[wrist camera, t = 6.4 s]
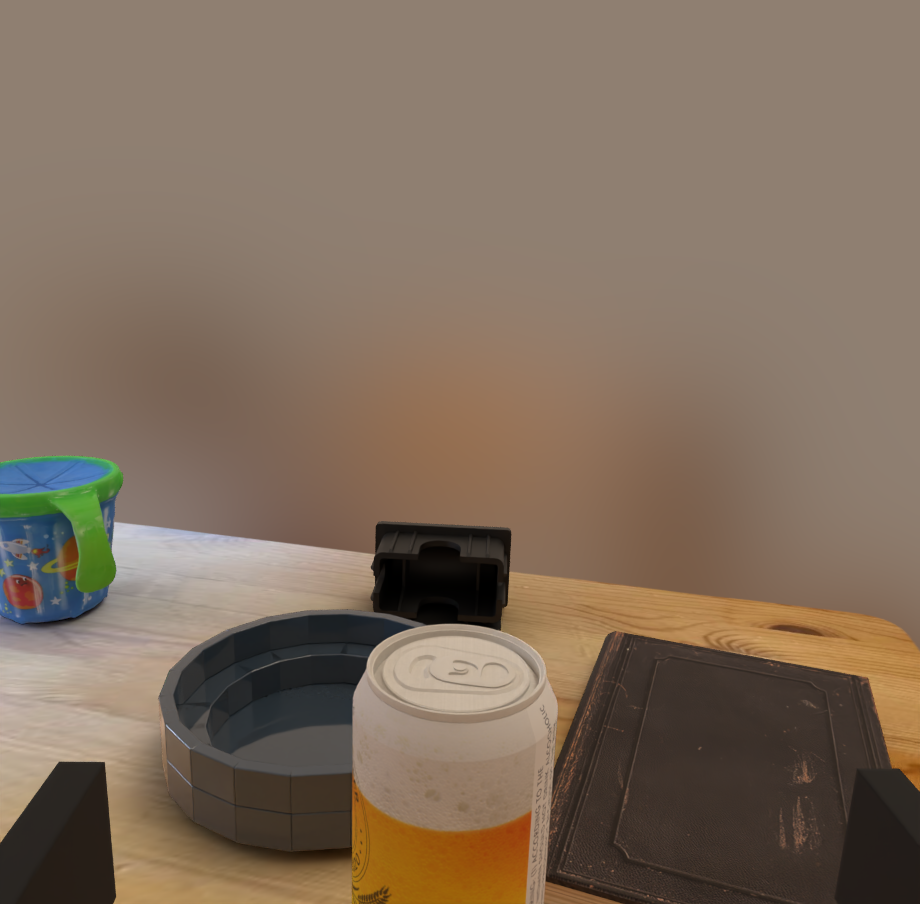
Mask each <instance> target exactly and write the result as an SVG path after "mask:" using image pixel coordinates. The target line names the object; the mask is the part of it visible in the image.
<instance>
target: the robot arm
mask: <svg viewBox="0 0 920 904" xmlns="http://www.w3.org/2000/svg"><path fill="white" fill-rule="evenodd" d="M115 898H116V890H115V878H114V866H113V854H112V843H111V831H110V819H109V807H108V795H107V783H106V772H105V762H59V763H58V764H57V765H56V767H55V768H54V769H53V771H52V772H51V774H50V775H49V776H48V778H47V779H46V781H45V782H44V783H43V785H42V786H41V788H40V789H39V790H38V792H37V793H36V794H35V796H34V797H33V799H32V800H31V801H30V803H29V804H28V806H27V807H26V808H25V810H24V811H23V812H22V814H21V815H20V817H19V818H18V819H17V821H16V822H15V824H14V825H13V826H12V828H11V829H10V830H9V832H8V833H7V835H6V836H5V837H4V839H3V840H2V842H1V843H0V904H113V902H114V900H115ZM834 898H835V900H836V902H837V903H838V904H920V792H919V790H918V789H917V788H916V787H915V786H914V785H913V784H912V783H911V781H910V780H909V779H908V778H907V777H906V776H905V775H904V774H903V773H902V771H901V770H900V769H877V768H857V771H856V776H855V782H854V788H853V794H852V799H851V805H850V811H849V817H848V822H847V828H846V834H845V839H844V845H843V851H842V857H841V862H840V868H839V874H838V880H837V885H836V891H835V897H834Z"/></svg>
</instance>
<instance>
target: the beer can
mask: <svg viewBox="0 0 920 904" xmlns="http://www.w3.org/2000/svg"><path fill="white" fill-rule="evenodd" d="M546 675H547V670H546V666H545V663H544V661H543V659H542V657H541V656H540V654H539V653H538V652H537V651H536V650H535V649H534V648H532V647H531V646H530V645H529V644H527V643H526V642H524V641H522V640H520V639H519V638H517V637H514V636H512V635H510V634H507V633H504V632H502V631H498V630H495V629H490V628H486V627H481V626H474V625H464V624H438V625H429V626H422V627H417V628H413V629H409V630H406V631H403V632H400V633H398V634H395V635H393V636H391V637H389V638H387V639H386V640H384V641H383V642H381V643H380V644H379V645H378V646H377V647H376V648H375V649H374V650H373V651H372V652H371V654H370V656H369V658H368V661H367V668H366V670H365V672H364V674H363V676H362V678H361V680H360V682H359V683H358V685H357V687H356V690H355V692H354V695H353V755H352V904H544V893H545V879H546V865H547V852H548V838H549V825H550V811H551V797H552V784H553V770H554V756H555V743H556V729H557V715H558V704H557V699H556V697H555V694H554V692H553V690H552V687H551V685H550V683H549V681H548V678H547V676H546Z"/></svg>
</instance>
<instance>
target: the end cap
mask: <svg viewBox="0 0 920 904" xmlns="http://www.w3.org/2000/svg"><path fill="white" fill-rule="evenodd" d="M375 548H376V549H375V550H376V551H375V552H376V553H375V557H374V561H373V563H372V565H371V569H372V570H373V571H374V576H375V587H374V590H373V592H372V595H371V600H372V601H373V610H374V612H376V613H385V614H391V615H394V616H398V617H401V618H405V619H409V620H412V621H416V622H419V623H423V624H425V625H427V626H429V625H438V624H464V625H474V626H481V627H486V628H490V629H495V630H498V631H501V615H502V608H504V607H506V606H507V603H508V585H509V567H510V548H511V530H510V529H509V528H502V527H483V526H463V525H444V524H443V525H442V524H424V523H405V522H386V521H381V522H378V524H377V525H376V547H375Z"/></svg>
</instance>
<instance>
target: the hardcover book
mask: <svg viewBox="0 0 920 904" xmlns="http://www.w3.org/2000/svg"><path fill="white" fill-rule="evenodd" d="M857 768H877V769H892V767H891V763H890V760H889V756H888V752H887V748H886V744H885V740H884V737H883V733H882V729H881V725H880V721H879V718H878V714H877V710H876V706H875V702H874V698H873V695H872V691H871V687H870V683H869V679H868V678H867V677H861V676H856V675H851V674H845V673H840V672H834V671H829V670H823V669H818V668H812V667H807V666H802V665H796V664H791V663H785V662H780V661H774V660H769V659H764V658H758V657H753V656H747V655H742V654H736V653H731V652H725V651H720V650H715V649H709V648H704V647H698V646H693V645H687V644H682V643H676V642H671V641H666V640H660V639H655V638H649V637H644V636H638V635H633V634H627V633H622V632H616V631H615V632H612V633H610V634H608V635H607V637H606V638H605V641H604V643H603V646H602V648H601V651H600V653H599V656H598V659H597V661H596V664H595V666H594V669H593V671H592V674H591V676H590V679H589V681H588V684H587V686H586V689H585V692H584V694H583V697H582V699H581V702H580V704H579V707H578V709H577V712H576V714H575V717H574V719H573V722H572V725H571V727H570V730H569V732H568V735H567V737H566V740H565V742H564V745H563V747H562V750H561V752H560V755H559V758H558V760H557V763H556V765H555V768H554V770H553V784H552V797H551V811H550V825H549V838H548V852H547V865H546V879H545V893H544V904H838V903H837V902H836V900H835V898H834V897H835V891H836V885H837V880H838V874H839V868H840V862H841V857H842V851H843V845H844V839H845V834H846V828H847V822H848V817H849V811H850V805H851V799H852V794H853V788H854V782H855V776H856V771H857Z"/></svg>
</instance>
